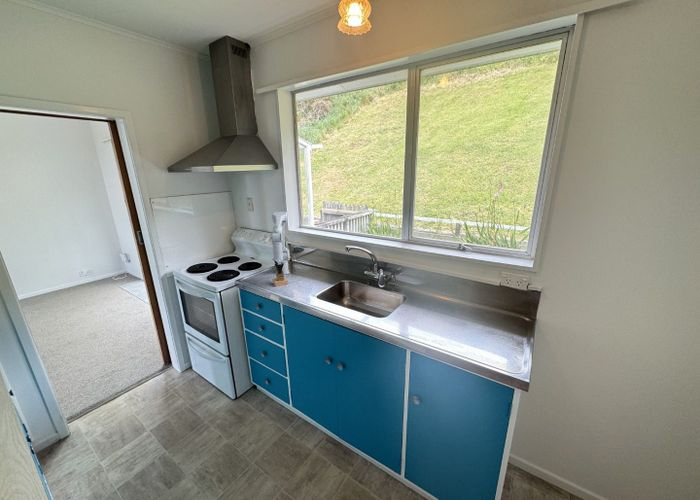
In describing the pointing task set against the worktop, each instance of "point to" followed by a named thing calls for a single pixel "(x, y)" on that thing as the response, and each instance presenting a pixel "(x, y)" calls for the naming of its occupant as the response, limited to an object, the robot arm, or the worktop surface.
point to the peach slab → (280, 282)
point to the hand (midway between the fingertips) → (279, 271)
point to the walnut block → (280, 276)
